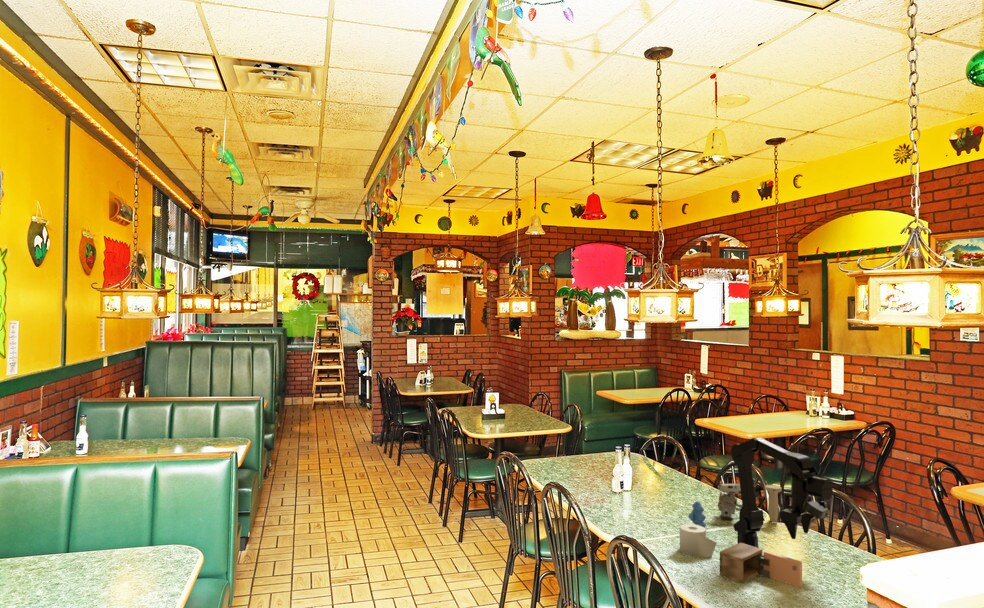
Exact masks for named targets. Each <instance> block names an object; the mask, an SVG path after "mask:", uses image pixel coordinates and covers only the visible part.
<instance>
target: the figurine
mask: <svg viewBox="0 0 984 608" xmlns="http://www.w3.org/2000/svg"><path fill="white" fill-rule="evenodd" d="M717 490H718V491H719V497H718V503H717V507H718V508H717V509H718V511H720V512H721V513H720V514H721V516H720V519H721V520H724V519H726V520H727V521H732V519H733V518H732V515H735V513H736V511H739V512H740V510H741V507H742V504H740V503H738V497H736V496H734V495H735V494H738V495H741V490H740V482H739V483H738V482H737V483H719V484H718V485H717Z"/></svg>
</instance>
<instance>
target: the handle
mask: <svg viewBox="0 0 984 608" xmlns="http://www.w3.org/2000/svg"><path fill="white" fill-rule="evenodd" d="M764 486H765V490H766V491H767V492H768V495H769V496H768V506H767V509H768V519H769V518H770V520H769V522H770V523H778V518H779V497H778V494H779V493H780V492H782V487H781V486H778V485H771V484H770V485H769V484H768V485H767V484H766V485H764Z"/></svg>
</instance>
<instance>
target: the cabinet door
mask: <svg viewBox="0 0 984 608" xmlns="http://www.w3.org/2000/svg"><path fill="white" fill-rule="evenodd" d="M763 554H764V558H766V559H769V566H766V565H764V570H767V571H769V578H771V579H774V580H777V581H780V582H783V583H786V582H787V583H786V584H788V583H790V584H789V585H791V584H794V585H796V586H795V587H797V586H799V587H798V588H801V587H803V561H801V560H798V559H795V558H791V557H788V556H784V555H783V554H782V555H781V554H778V553H776V552H775V553H774V552H772V551H769V550H765V551H763ZM794 585H793V586H794ZM800 586H801V587H800Z"/></svg>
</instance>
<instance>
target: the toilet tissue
mask: <svg viewBox="0 0 984 608" xmlns="http://www.w3.org/2000/svg"><path fill="white" fill-rule="evenodd" d="M716 545H717V541H714V540H712V539H711V538H708V537H707V529H706V527H705V528H704V527H702V526H699V525H696V524H694V523H685V524H681V525H679V550H680V552H681V553H683V554H686V555H688V556H693V557H701V558H712V557H713V554H714V551H715V549H716Z"/></svg>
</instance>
